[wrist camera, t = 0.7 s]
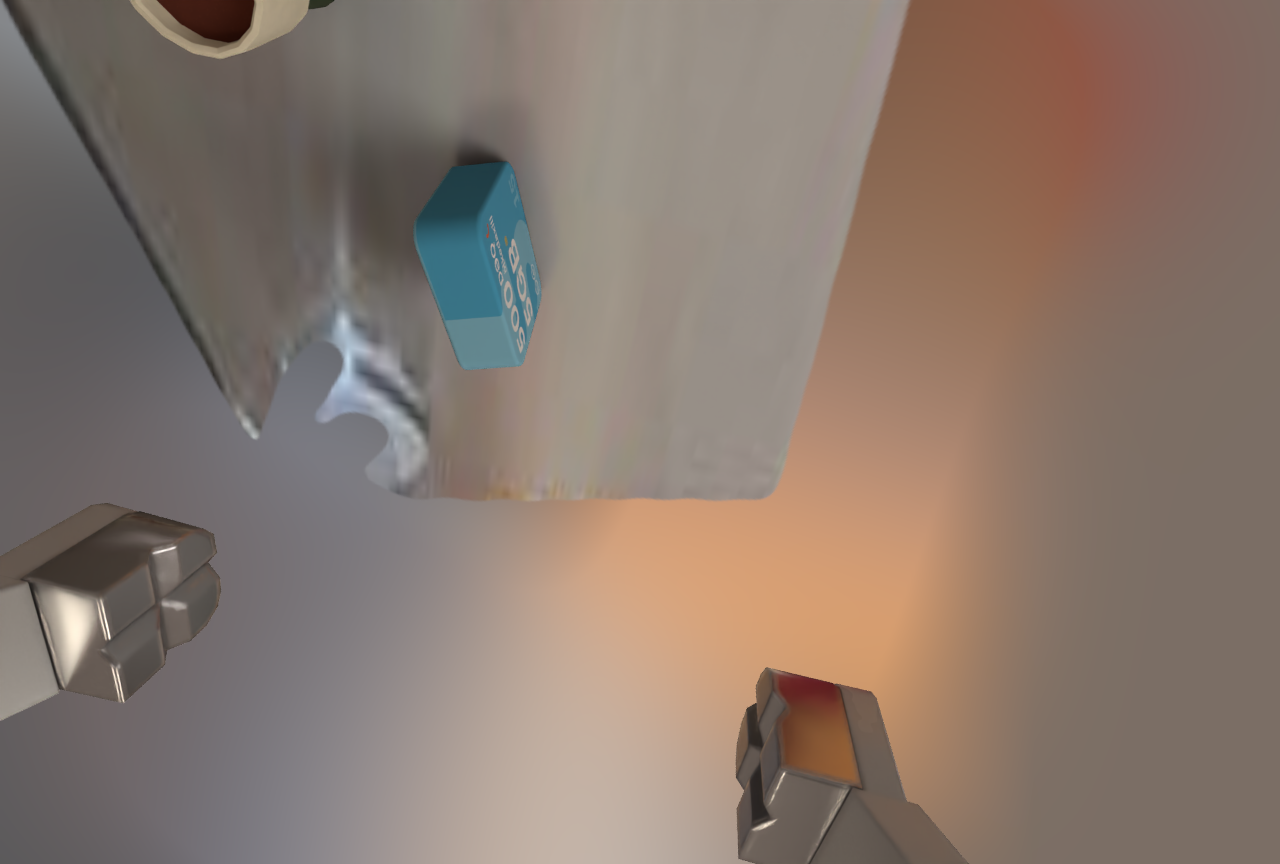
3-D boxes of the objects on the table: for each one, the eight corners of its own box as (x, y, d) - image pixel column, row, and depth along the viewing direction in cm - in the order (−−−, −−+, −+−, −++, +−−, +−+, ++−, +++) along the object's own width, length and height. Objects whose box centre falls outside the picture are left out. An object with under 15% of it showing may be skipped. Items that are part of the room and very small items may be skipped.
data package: (543, 293, 55) (521, 375, 47) (494, 297, 56) (463, 379, 47) (510, 154, 47) (476, 222, 39) (453, 160, 48) (406, 228, 39)
